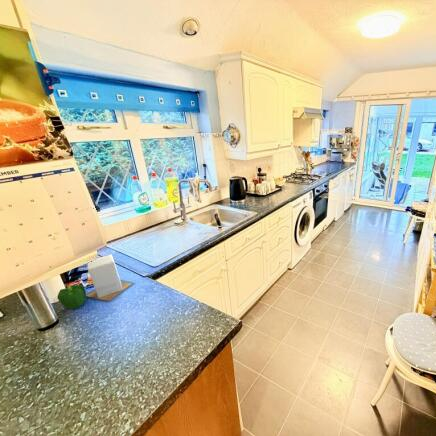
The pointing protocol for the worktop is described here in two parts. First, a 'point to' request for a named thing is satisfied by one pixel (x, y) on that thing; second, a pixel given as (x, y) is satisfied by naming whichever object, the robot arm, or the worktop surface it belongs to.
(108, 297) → the coaster
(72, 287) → the bell pepper
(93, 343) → the worktop surface
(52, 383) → the worktop surface
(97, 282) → the white product box
